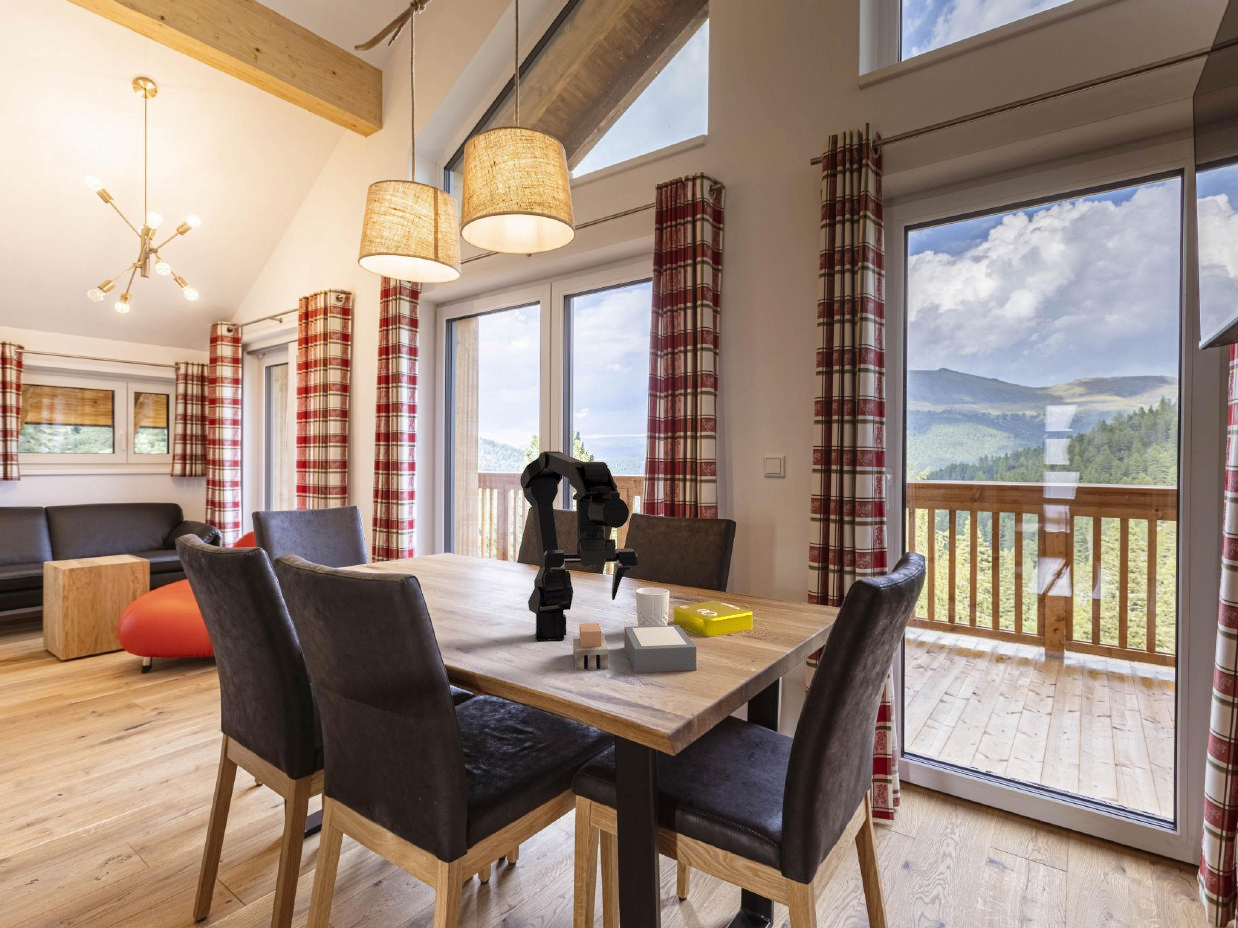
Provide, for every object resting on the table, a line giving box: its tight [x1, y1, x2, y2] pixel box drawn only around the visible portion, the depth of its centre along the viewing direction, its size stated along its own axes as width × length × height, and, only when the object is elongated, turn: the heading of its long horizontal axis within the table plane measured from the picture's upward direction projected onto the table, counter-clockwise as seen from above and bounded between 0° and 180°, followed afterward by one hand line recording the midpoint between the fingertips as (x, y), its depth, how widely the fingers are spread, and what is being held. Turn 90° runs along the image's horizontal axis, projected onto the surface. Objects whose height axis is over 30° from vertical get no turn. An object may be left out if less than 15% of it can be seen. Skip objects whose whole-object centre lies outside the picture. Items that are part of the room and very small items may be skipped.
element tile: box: [672, 600, 754, 638], centre depth 153 cm, size 15×15×5 cm
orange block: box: [578, 622, 602, 647], centre depth 126 cm, size 4×6×3 cm, turn 7°
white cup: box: [635, 587, 670, 626], centre depth 146 cm, size 8×8×10 cm
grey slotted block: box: [572, 634, 609, 671], centre depth 126 cm, size 6×10×4 cm, turn 7°
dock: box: [623, 624, 697, 674], centre depth 128 cm, size 12×16×5 cm
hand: (590, 600), depth 126 cm, fingers open, 9 cm apart
